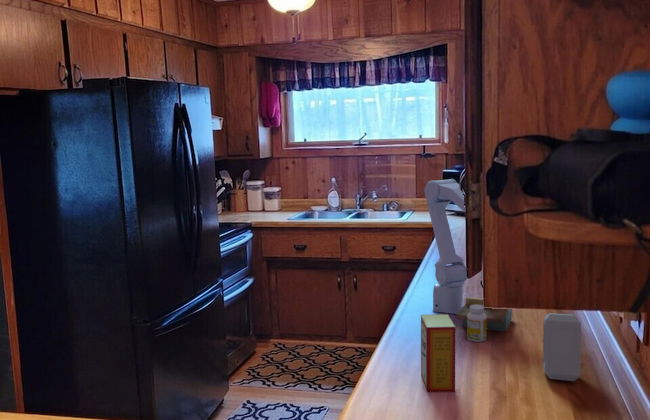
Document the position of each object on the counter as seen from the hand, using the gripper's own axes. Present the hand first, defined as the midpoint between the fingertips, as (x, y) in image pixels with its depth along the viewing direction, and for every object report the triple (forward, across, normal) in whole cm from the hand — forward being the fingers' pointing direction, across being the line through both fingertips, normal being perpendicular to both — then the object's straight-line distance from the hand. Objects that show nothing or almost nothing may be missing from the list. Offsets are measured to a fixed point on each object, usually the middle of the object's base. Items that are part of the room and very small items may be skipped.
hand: (490, 303), depth 181 cm
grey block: (+7, -23, -21) cm, 32 cm away
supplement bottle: (+7, -14, +1) cm, 16 cm away
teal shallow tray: (+7, +1, +1) cm, 7 cm away
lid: (+2, -6, +1) cm, 7 cm away
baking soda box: (+7, -48, +4) cm, 49 cm away
